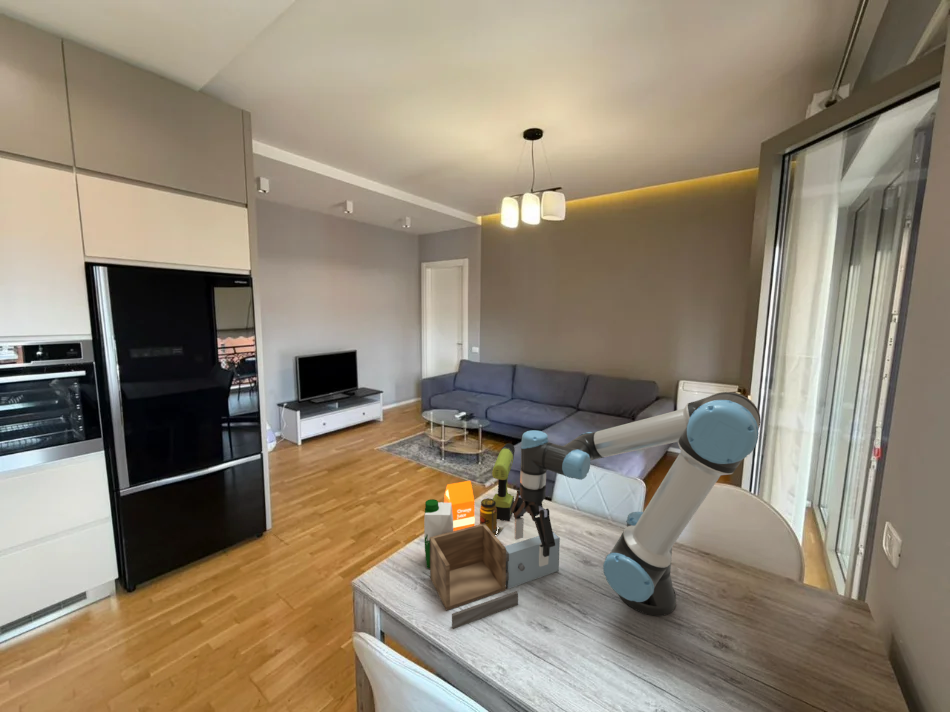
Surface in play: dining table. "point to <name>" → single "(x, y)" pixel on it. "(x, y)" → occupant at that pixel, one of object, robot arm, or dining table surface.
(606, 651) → the dining table surface
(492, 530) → the condiment
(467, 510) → the orange juice
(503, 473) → the cordless drill
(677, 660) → the dining table surface
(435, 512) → the milk carton
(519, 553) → the door
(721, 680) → the dining table surface
